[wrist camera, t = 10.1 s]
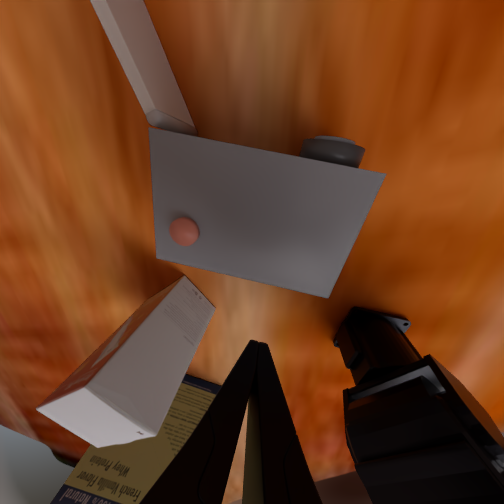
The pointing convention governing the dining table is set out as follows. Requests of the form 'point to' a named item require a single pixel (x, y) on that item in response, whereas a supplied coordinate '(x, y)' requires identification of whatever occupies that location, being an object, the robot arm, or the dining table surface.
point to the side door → (145, 63)
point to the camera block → (260, 208)
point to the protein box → (138, 454)
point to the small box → (134, 370)
